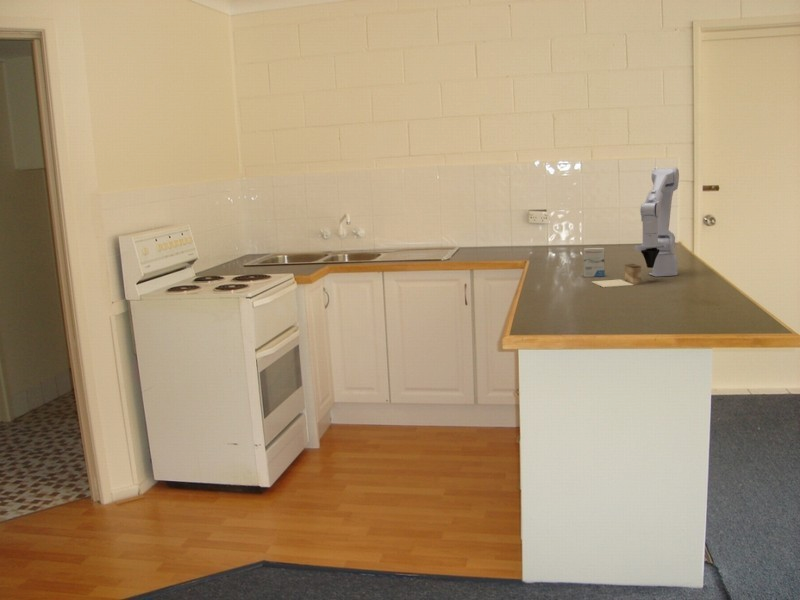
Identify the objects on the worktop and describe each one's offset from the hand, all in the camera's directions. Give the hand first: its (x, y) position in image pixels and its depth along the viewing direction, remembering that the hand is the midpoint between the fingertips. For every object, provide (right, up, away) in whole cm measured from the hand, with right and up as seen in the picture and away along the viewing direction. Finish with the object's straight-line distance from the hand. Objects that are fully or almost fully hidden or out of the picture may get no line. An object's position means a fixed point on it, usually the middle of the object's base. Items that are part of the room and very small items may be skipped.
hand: (650, 267), depth 302 cm
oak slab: (-7, -6, +1) cm, 9 cm away
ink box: (-16, -3, +23) cm, 28 cm away
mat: (-15, -6, 0) cm, 16 cm away
